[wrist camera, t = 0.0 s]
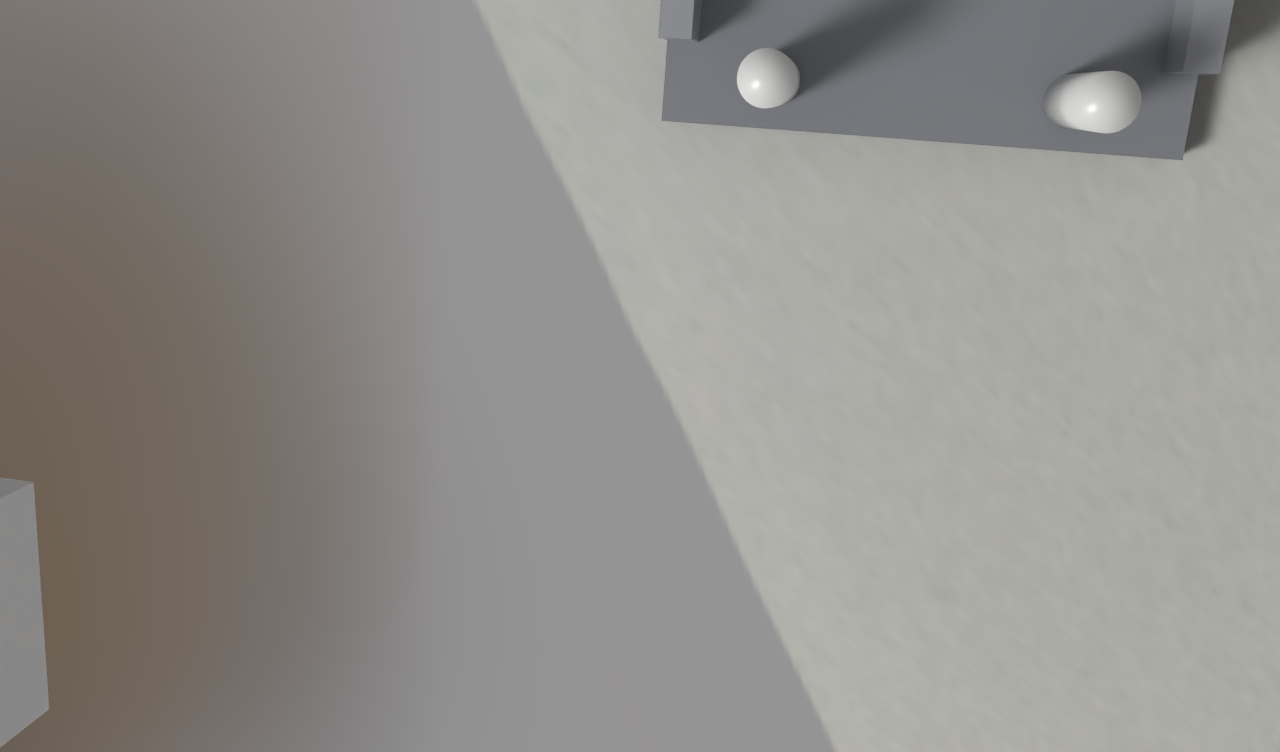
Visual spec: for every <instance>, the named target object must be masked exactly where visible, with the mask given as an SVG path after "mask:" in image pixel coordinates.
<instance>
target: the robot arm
mask: <svg viewBox="0 0 1280 752" xmlns="http://www.w3.org/2000/svg"><path fill="white" fill-rule="evenodd" d="M48 701H49V700H48V687H47V672H46V657H45V644H44V629H43V614H42V599H41V585H40V571H39V557H38V541H37V527H36V512H35V498H34V483H33V482H27V481H20V480H13V479H4V478H0V747H1V746H3V745H4V744H5V743H7V742H8V741H9V740H10V739H12V738H13V737H14V736H15V735H17V734H18V733H19V732H20V731H22V730H23V729H24V728H26V727H27V726H28V725H29V724H31V723H32V722H33V721H34V720H36V719H37V718H38V717H39V716H41V715H42V714H43V713H45V712H46V711H47V710H48V709H49V702H48Z"/></svg>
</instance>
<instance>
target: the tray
mask: <svg viewBox="0 0 1280 752" xmlns="http://www.w3.org/2000/svg"><path fill="white" fill-rule="evenodd" d="M1233 5H1234V0H661V6H660V21H659V35H658V37H659V38H663V39H666V40H668V41H667V55H666V69H665V83H664V97H663V111H662V121H674V122H687V123H700V124H714V125H727V126H740V127H753V128H766V129H780V130H793V131H806V132H819V133H832V134H846V135H859V136H872V137H885V138H898V139H912V140H925V141H938V142H951V143H964V144H978V145H991V146H1004V147H1017V148H1030V149H1044V150H1057V151H1070V152H1083V153H1096V154H1109V155H1123V156H1136V157H1149V158H1162V159H1175V160H1183V155H1184V150H1185V145H1186V139H1187V134H1188V128H1189V123H1190V118H1191V112H1192V107H1193V102H1194V96H1195V91H1196V85H1197V80H1198V75H1209V74H1220V73H1221V68H1222V63H1223V57H1224V52H1225V47H1226V42H1227V36H1228V31H1229V26H1230V21H1231V15H1232V10H1233Z"/></svg>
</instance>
